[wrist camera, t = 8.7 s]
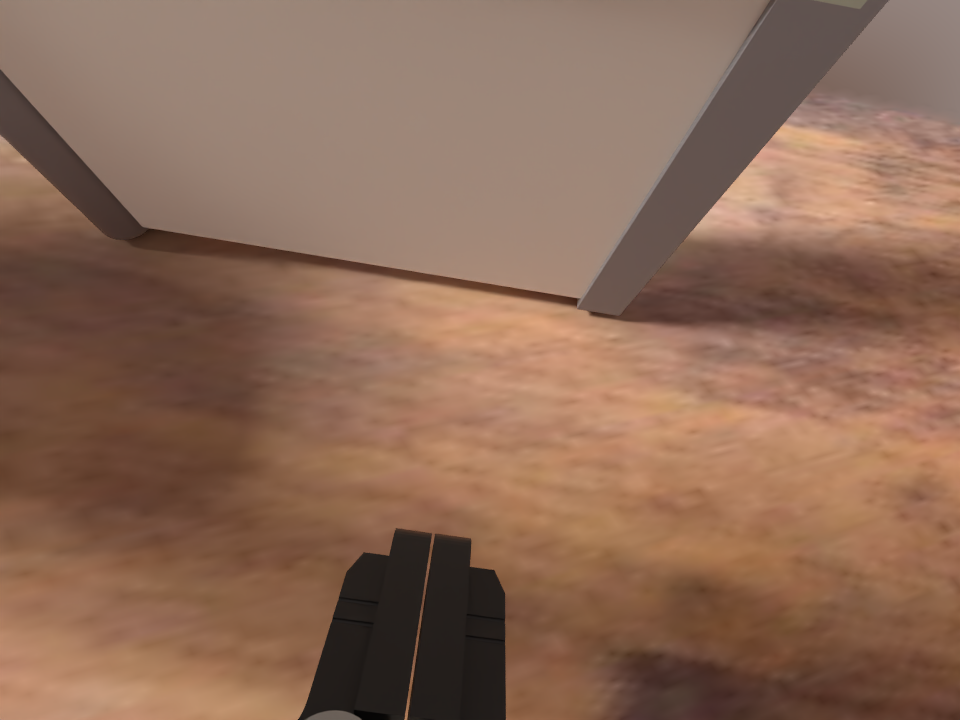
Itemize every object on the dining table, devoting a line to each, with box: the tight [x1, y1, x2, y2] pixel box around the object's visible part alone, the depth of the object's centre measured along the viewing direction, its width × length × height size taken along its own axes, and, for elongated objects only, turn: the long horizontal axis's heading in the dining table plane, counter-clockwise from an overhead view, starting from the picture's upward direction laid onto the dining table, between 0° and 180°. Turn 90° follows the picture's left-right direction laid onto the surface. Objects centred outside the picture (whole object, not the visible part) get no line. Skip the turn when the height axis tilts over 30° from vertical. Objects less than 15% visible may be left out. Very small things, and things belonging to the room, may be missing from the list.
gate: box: [0, 0, 888, 316], centre depth 14 cm, size 19×2×15 cm, turn 82°
